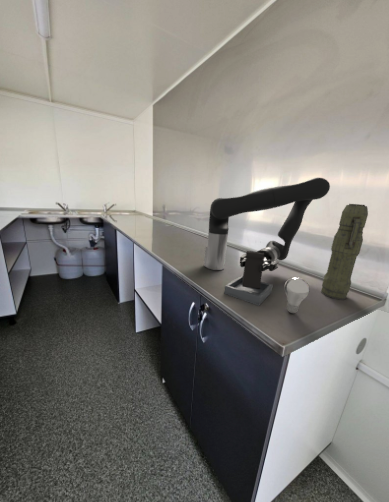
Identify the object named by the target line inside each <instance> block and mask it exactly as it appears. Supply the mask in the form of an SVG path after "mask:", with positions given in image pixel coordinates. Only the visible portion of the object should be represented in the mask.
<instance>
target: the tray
mask: <svg viewBox="0 0 389 502" xmlns="http://www.w3.org/2000/svg"><path fill="white" fill-rule="evenodd" d="M272 290H273V284H270V283H266V282H263V281H261V286H260V289H255V288H248V287H243V275H240V276H238V277H237V278H235V279H233V280H232V281H230V282H228V283H227V284H225V285H224V290H223V291H224V293H223V294H225V295H228V296H230V297H233V298H236V299H238V300H242V301H244V302H248V303H251V304H253V305H256V306H260V305H261V304H262V303H263V302H264V301H265V300H266V299H267V297H269V296H270V295H271V293H272V292H273V291H272Z"/></svg>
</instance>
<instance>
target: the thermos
mask: <svg viewBox="0 0 389 502" xmlns="http://www.w3.org/2000/svg"><path fill="white" fill-rule="evenodd" d="M368 209H369V208H368V206H367V205H366V204H358V203H349V204H346V205H345V206H344V208H343V209H342V211H341V216H340V221H339V224H338V225H339V226H338V228H337V231H336V233H335V235H334V236H333V240H332V244H331V248H330V250H331V254H330V257H329V262H328V266H327V269H326V270H327V271H326V273H325V274H324V277H323V280H322V284H321V287H322V288H321V291H320V293H321V294H323V295H324V296H326V297H329V298H330V299H334V300H342V301H344V300H347V298H348V297H347V296H348V293H349V292H350V289H351V285H352V275H353V271H354V268H355V264H356V261H357V257H358V256H359V255H360V253H361V248H362V245H363V242H364V238H363V236H364V235H363V234H364V228H365V227H366V223H367V220H368V216H369V211H368Z"/></svg>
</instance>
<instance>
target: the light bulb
mask: <svg viewBox="0 0 389 502" xmlns="http://www.w3.org/2000/svg"><path fill="white" fill-rule="evenodd" d="M283 287H284V288H283V290H284V293H285V295H286V300H287V303H286V310H287V311H288V312H289V314H291V315H293V314H295V313H297V312H298V311H299V307H300V305H301V303H302V301H303V300H305V299H306V298H307V296H308V295H309V293H310V286H309V284H308V282H307V281H306V280H305V279H304V278H302V277H299V276H293V277H290V278H289V279H287V280H286V281H285V283H284V286H283Z"/></svg>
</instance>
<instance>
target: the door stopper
mask: <svg viewBox="0 0 389 502" xmlns="http://www.w3.org/2000/svg"><path fill="white" fill-rule="evenodd" d="M245 254H246V259H245V266H244V267H243V275H242V276H243V287H248V288H255V289H260V286H261V282H262V275H263V271H262V272H259V268H260V266H261V265H263V259H264V253H262V252H257V251H253V250H252V251H251V250H246V253H245Z"/></svg>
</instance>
